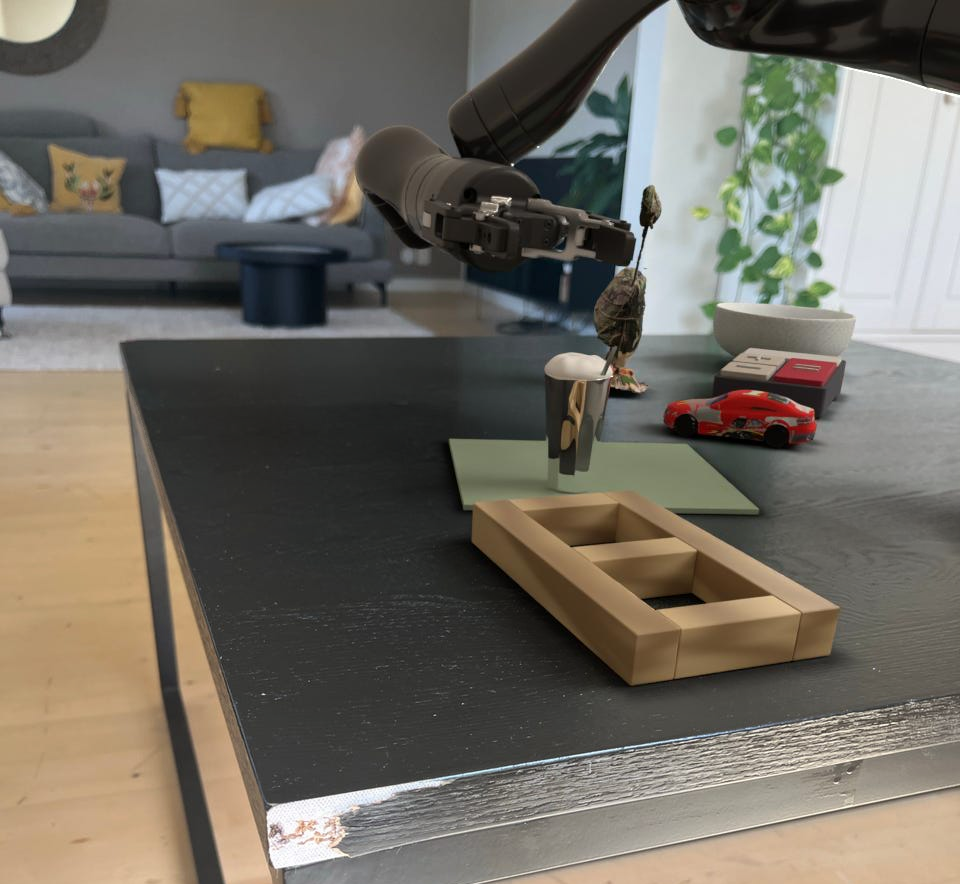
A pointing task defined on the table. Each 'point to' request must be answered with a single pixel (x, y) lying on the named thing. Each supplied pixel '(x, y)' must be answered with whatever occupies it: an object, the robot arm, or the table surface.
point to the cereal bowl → (782, 328)
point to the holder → (651, 586)
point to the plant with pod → (626, 306)
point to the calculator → (784, 376)
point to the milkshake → (575, 418)
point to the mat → (597, 475)
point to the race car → (744, 417)
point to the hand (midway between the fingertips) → (572, 246)
